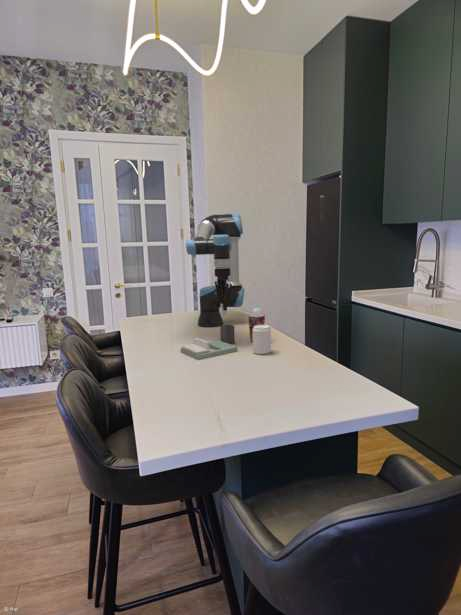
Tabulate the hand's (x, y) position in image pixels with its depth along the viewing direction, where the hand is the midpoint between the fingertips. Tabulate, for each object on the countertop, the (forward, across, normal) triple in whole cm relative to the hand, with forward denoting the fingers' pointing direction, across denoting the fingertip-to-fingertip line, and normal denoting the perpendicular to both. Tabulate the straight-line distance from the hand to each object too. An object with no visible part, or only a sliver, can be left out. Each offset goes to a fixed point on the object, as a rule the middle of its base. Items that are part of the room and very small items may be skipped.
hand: (224, 316), depth 194 cm
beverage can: (+14, +22, +7) cm, 27 cm away
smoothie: (+14, +5, +15) cm, 21 cm away
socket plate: (+14, +7, -12) cm, 20 cm away
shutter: (+11, +7, -19) cm, 23 cm away
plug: (+14, 0, +2) cm, 14 cm away
